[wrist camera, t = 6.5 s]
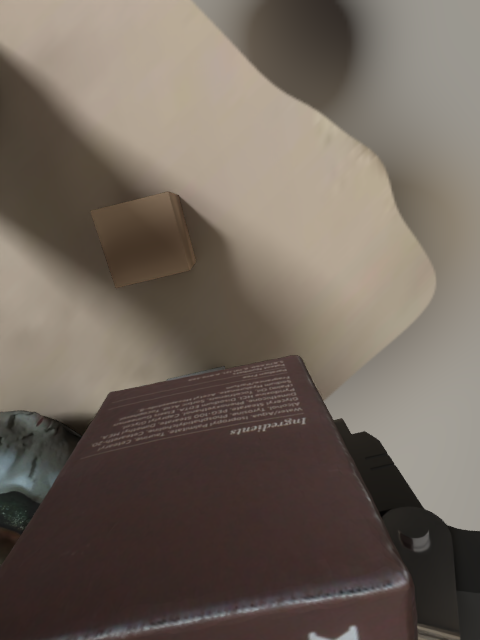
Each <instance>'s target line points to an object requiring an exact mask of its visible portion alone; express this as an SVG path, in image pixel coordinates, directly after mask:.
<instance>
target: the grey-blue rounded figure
mask: <svg viewBox="0 0 480 640" xmlns="http://www.w3.org/2000/svg"><path fill="white" fill-rule="evenodd" d="M81 438H82V436H81V435H79V434H78V433H76V432H75V431H73V430H72V429H70V428H69V427H67V426H66V425H64V424H62V423H61V422H59V421H56V420H54V419H51V418H48V417H45V416H41V415H40V414H38V413H36V412H28V411H11V412H0V566H1V565H2V563H3V562H4V560H5V559H6V557H7V556H8V554H9V553H10V551H11V550H12V548H13V547H14V545H15V544H16V542H17V541H18V539H19V538H20V536H21V534H22V533H23V531H24V530H25V528H26V526H27V525H28V523H29V522H30V520H31V519H32V517H33V515H34V513H35V512H36V510H37V509H38V507H39V506H40V504H41V503H42V501H43V499H44V498H45V496H46V495H47V493H48V491H49V490H50V488H51V487H52V485H53V483H54V481H55V479H56V478H57V476H58V474H59V473H60V471H61V469H62V468H63V467H64V465H65V463H66V462H67V460H68V459H69V457H70V455H71V454H72V452H73V451H74V449H75V447H76V446H77V443H78V442H79V441H80V440H81Z"/></svg>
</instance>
